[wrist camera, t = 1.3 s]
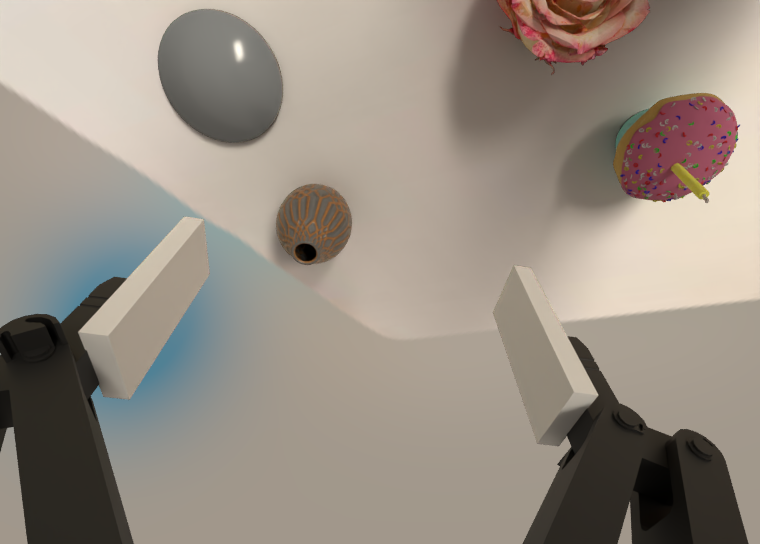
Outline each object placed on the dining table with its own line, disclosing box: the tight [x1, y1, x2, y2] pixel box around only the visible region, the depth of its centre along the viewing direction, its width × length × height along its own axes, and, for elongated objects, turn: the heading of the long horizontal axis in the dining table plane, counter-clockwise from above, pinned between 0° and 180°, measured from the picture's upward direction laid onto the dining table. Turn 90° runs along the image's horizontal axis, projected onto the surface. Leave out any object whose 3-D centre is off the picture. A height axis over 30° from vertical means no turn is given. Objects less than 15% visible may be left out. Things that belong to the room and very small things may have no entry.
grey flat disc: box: [158, 9, 283, 142], centre depth 33 cm, size 10×10×1 cm
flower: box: [497, 0, 650, 75], centre depth 27 cm, size 10×9×8 cm
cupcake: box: [613, 93, 740, 203], centre depth 30 cm, size 9×8×12 cm
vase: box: [276, 184, 352, 265], centre depth 36 cm, size 7×7×9 cm
